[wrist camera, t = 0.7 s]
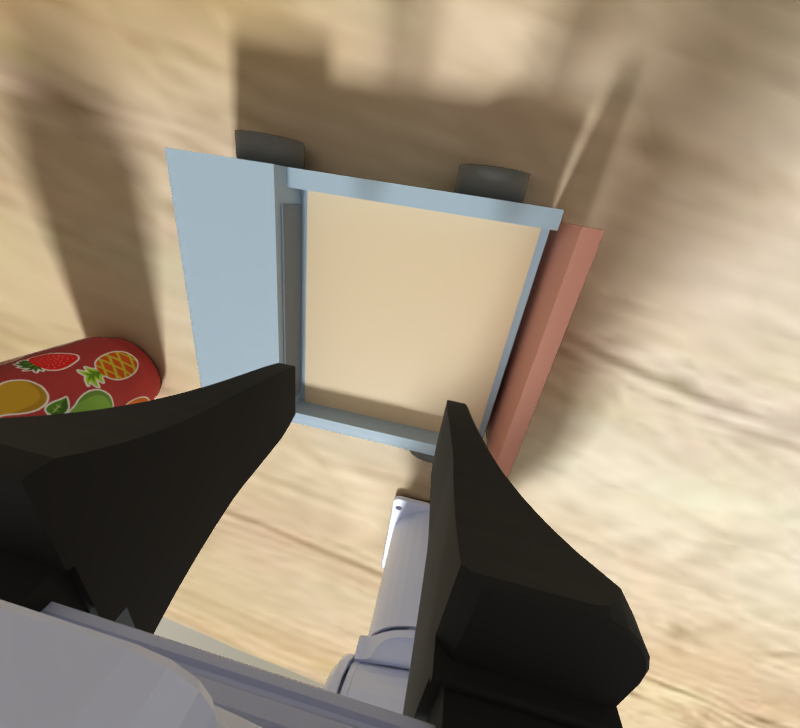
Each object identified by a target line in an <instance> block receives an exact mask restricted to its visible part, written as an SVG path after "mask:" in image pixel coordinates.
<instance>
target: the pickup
mask: <svg viewBox="0 0 800 728" xmlns="http://www.w3.org/2000/svg"><path fill="white" fill-rule="evenodd" d="M235 140H236V154H237V158H230V157H224V156H217V155H211V154H204V153H198V152H192V151H185V150H179V149H172V148H166V147H165V153H166V160H167V166H168V173H169V179H170V186H171V192H172V199H173V206H174V212H175V219H176V225H177V232H178V238H179V245H180V251H181V258H182V265H183V271H184V278H185V284H186V291H187V297H188V304H189V311H190V317H191V324H192V330H193V337H194V343H195V350H196V356H197V363H198V370H199V376H200V383H201V388H202V387H205V386H208V385H211V384H215V383H218V382H221V381H224V380H227V379H230V378H233V377H236V376H239V375H242V374H245V373H248V372H250V371H253V370H256V369H259V368H262V367H265V366H269V365H272V364H276V363H282V364H287V365H292V366H295V410H296V414H295V416H294V418H293V420H292V421H291V422H294V423H298V424H302V425H307V426H311V427H315V428H319V429H323V430H328V431H332V432H336V433H340V434H344V435H348V436H353V437H357V438H361V439H365V440H369V441H374V442H378V443H382V444H386V445H390V446H395V447H399V448H403V449H407V450H410V452H411V453H412V454H413V455H414V456H416V457H417V458H419V459H421V460H423V461H426V462H431V463H433V461H434V455H435V449H436V444H437V440H438V436H439V432H440V428H441V424H442V420H443V415H444V411H445V407H446V403H447V400H451V401H455V402H460V403H464V404H466V405H467V407H468V409H469V411H470V414H471V416H472V418H473V421H474V423H475V425H476V427H477V429H478V431H479V433H480V435H481V437H482V439H483V437H484V433H485V430H486V427H487V424H488V421H489V418H490V415H491V412H492V408H493V405H494V402H495V399H496V396H497V393H498V390H499V387H500V384H501V380H502V377H503V374H504V371H505V368H506V365H507V362H508V359H509V356H510V352H511V349H512V346H513V343H514V340H515V337H516V334H517V331H518V328H519V324H520V321H521V318H522V315H523V312H524V309H525V306H526V303H527V300H528V296H529V293H530V290H531V287H532V284H533V281H534V278H535V275H536V272H537V268H538V265H539V262H540V259H541V256H542V253H543V250H544V247H545V244H546V240H547V237H548V234H549V231H550V230H555V231H558V228H559V225H560V222H561V219H562V216H563V213H564V210H562V209H556V208H549V207H543V206H536V205H530V204H523V203H522V202H523V199H524V195H525V192H526V188H527V184H528V181H529V177H530V174H528V173H525V172H522V171H517V170H513V169H507V168H501V167H495V166H487V165H476V164H461V165H460V167H459V172H458V177H457V183H456V188H455V193H452V192H446V191H439V190H433V189H426V188H420V187H413V186H407V185H401V184H394V183H388V182H381V181H375V180H368V179H362V178H355V177H349V176H342V175H336V174H329V173H323V172H317V171H310V170H304V151H305V144H304V143H302V142H299V141H296V140H293V139H289V138H284V137H280V136H275V135H270V134H265V133H259V132H253V131H245V130H235Z"/></svg>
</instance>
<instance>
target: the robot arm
mask: <svg viewBox="0 0 800 728" xmlns="http://www.w3.org/2000/svg"><path fill="white" fill-rule="evenodd" d="M295 414H296V410H295V366H292V365H287V364H282V363H276V364H272V365H269V366H265V367H262V368H259V369H256V370H253V371H250V372H248V373H245V374H242V375H239V376H236V377H233V378H230V379H227V380H224V381H221V382H218V383H215V384H211V385H208V386H205V387H202V388H198V389H195V390H192V391H188V392H185V393H181V394H177V395H173V396H169V397H164V398H160V399H156V400H151V401H146V402H140V403H135V404H129V405H123V406H117V407H111V408H105V409H98V410H90V411H82V412H73V413H63V414H53V415H42V416H26V417H9V418H0V728H623V727H622V724H621V720H620V717H619V714H618V710H617V707H616V706H617V705H618V704H619V703H620V702H621V701H622V700H623V699H624V698H625V697H626V696H627V695H628V694H629V693H630V692H631V691H633V690H634V689H635V688H636V687H637V686H638V685H639V684H640V682H641V681H642V679H643V678H644V676H645V675H646V673H647V671H648V670H649V660H650V656H649V654H648V651H647V649H646V646H645V644H644V641H643V639H642V636H641V634H640V631H639V628H638V625H637V623H636V620H635V618H634V615H633V613H632V611H631V609H630V607H629V605H628V603H627V601H626V599H625V596H624V594H623V592H622V590H621V588H620V587H618V586H617V585H616V584H615V583H614V582H612V581H611V580H610V579H609V578H607V577H606V576H605V575H604V574H603V573H601V572H600V571H599V570H598V569H597V568H595V567H594V566H593V565H592V564H591V563H589V562H588V561H587V560H586V559H584V558H583V557H582V556H581V555H580V554H579V553H577V552H576V551H575V550H574V549H573V548H572V547H571V546H570V545H569V544H568V543H567V542H565V541H564V540H563V539H562V538H561V537H560V536H559V535H558V534H557V533H556V532H555V531H554V530H553V529H552V528H551V527H550V526H549V525H548V524H547V523H546V522H545V521H544V520H543V519H542V518H541V517H540V516H539V515H538V514H537V513H536V512H535V511H534V510H533V508H532V507H531V506H530V505H529V504H528V503H527V502H526V501H525V500H524V498H523V497H522V496H521V495H520V494H519V493H518V491H517V490H516V489H515V488H514V486H513V485H512V484H511V482H510V481H509V480H508V478H507V477H506V476H505V475H504V473H503V472H502V470H501V469H500V467H499V466H498V464H497V463H496V461H495V459H494V458H493V456H492V455H491V453H490V451H489V450H488V448H487V446H486V444H485V442H484V440H483V439H482V437H481V435H480V433H479V431H478V429H477V427H476V425H475V423H474V421H473V418H472V416H471V414H470V411H469V409H468V407H467V405H466V404H464V403H460V402H455V401H451V400H447V403H446V407H445V411H444V415H443V420H442V424H441V428H440V432H439V436H438V440H437V444H436V449H435V455H434V461H433V467H432V473H431V492H430V503H427V502H423V501H419V500H415V499H411V498H407V497H403V496H396V497H395V498H394V502H393V507H392V513H391V518H390V523H389V529H388V534H387V539H386V545H385V550H384V556H383V561H382V568H383V569H384V571H383V575H382V579H381V584H380V588H379V592H378V597H377V601H376V605H375V609H374V614H373V618H372V622H371V627H370V631H369V635H368V636H363V635H361V636H360V637H359V641H358V645H357V649H356V653H355V654H346V655H345V656H344V657H343V658H342V659H341V660H340V661H339V663H338V664H337V665H336V666H335V667H334V668H333V670H332V671H331V673H330V675H329V677H328V679H327V681H326V683H325V685H324V688H323V689H322V688H318V687H315V686H312V685H309V684H306V683H303V682H300V681H297V680H293V679H290V678H287V677H284V676H281V675H278V674H275V673H272V672H269V671H266V670H263V669H259V668H256V667H253V666H250V665H247V664H244V663H241V662H238V661H235V660H232V659H229V658H225V657H222V656H219V655H216V654H213V653H210V652H207V651H204V650H201V649H197V648H194V647H191V646H188V645H185V644H182V643H179V642H176V641H173V640H170V639H166V638H163V637H160V636H157V635H154V632H155V630H156V628H157V626H158V624H159V622H160V620H161V619H162V617H163V615H164V613H165V611H166V610H167V608H168V606H169V604H170V602H171V600H172V598H173V597H174V595H175V593H176V591H177V589H178V588H179V586H180V584H181V583H182V581H183V579H184V577H185V576H186V574H187V572H188V570H189V569H190V567H191V565H192V564H193V562H194V560H195V558H196V557H197V555H198V553H199V552H200V550H201V549H202V547H203V545H204V544H205V542H206V540H207V539H208V537H209V536H210V534H211V532H212V531H213V529H214V527H215V526H216V524H217V523H218V521H219V520H220V518H221V517H222V515H223V514H224V512H225V511H226V509H227V507H228V506H229V504H230V503H231V501H232V500H233V498H234V497H235V496H236V494H237V493H238V492H239V490H240V489H241V488H242V486H243V485H244V484H245V483H246V481H247V480H248V479H249V478H250V476H251V475H252V474H253V473H254V472H255V470H256V469H257V468H258V467H259V465H260V464H261V463H262V462H263V460H264V459H265V458H266V457H267V456H268V454H269V453H270V452H271V451H272V449H273V448H274V447H275V446H276V444H277V443H278V442H279V440H280V439H281V438H282V436H283V435H284V433H285V432H286V430H287V428H288V427H289V425H290V423H291V421H292V420H293V418H294V416H295Z"/></svg>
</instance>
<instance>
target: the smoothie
mask: <svg viewBox="0 0 800 728" xmlns="http://www.w3.org/2000/svg"><path fill="white" fill-rule="evenodd" d="M159 390H160V377H159V374H158V371H157V368H156V367H155V365H154V364H153V362H152V361H151V359H150V358H149V357H148V356H147V355H146V354H145V353H144V352H143V351H142V350H141V349H140V348H138V347H137V346H135V345H134V344H132V343H131V342H128V341H126V340H123V339H120V338H106V339H105V338H102V337H87V338H84V339H80V340H77V341H73V342H70V343H66V344H63V345H59V346H56V347H52V348H49V349H45V350H42V351H38V352H35V353H31V354H28V355H24V356H21V357H17V358H13V359H10V360H6V361H3V362H0V418H9V417H26V416H42V415H53V414H63V413H73V412H82V411H90V410H98V409H105V408H111V407H117V406H123V405H129V404H135V403H140V402H146V401H151V400H154V398H155V397H156V396H157V395H158V393H159Z"/></svg>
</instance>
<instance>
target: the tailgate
mask: <svg viewBox="0 0 800 728" xmlns="http://www.w3.org/2000/svg"><path fill="white" fill-rule="evenodd" d="M603 234H604V230H599V229H593V228H588V227H583V226H578V225H573V224H567V223H561V222H560V225H559V228H558V231H555V230H550V231H549V234H548V237H547V240H546V244H545V247H544V250H543V253H542V256H541V259H540V262H539V265H538V268H537V272H536V275H535V278H534V281H533V284H532V287H531V290H530V293H529V296H528V300H527V303H526V306H525V309H524V312H523V315H522V318H521V321H520V324H519V328H518V331H517V334H516V337H515V340H514V343H513V346H512V349H511V352H510V356H509V359H508V362H507V365H506V368H505V371H504V374H503V377H502V380H501V384H500V387H499V390H498V393H497V396H496V399H495V402H494V405H493V408H492V412H491V415H490V418H489V421H488V424H487V427H486V438H487V448H488V450H489V451H490V453H491V455H492V456H493V458H494V459H495V461H496V463H497V464H498V466H499V467H500V469H501V470H502V472H503V473H504V475H505V476H506V477H507V478H508V477H509V474H510V472H511V469H512V466H513V464H514V461H515V459H516V456H517V454H518V451H519V449H520V446H521V443H522V441H523V438H524V436H525V433H526V431H527V428H528V426H529V423H530V420H531V418H532V415H533V413H534V410H535V408H536V405H537V403H538V400H539V397H540V395H541V392H542V390H543V387H544V385H545V382H546V380H547V377H548V374H549V372H550V369H551V367H552V364H553V362H554V359H555V357H556V354H557V351H558V349H559V346H560V344H561V341H562V339H563V336H564V334H565V331H566V328H567V326H568V323H569V321H570V318H571V316H572V313H573V311H574V308H575V305H576V303H577V300H578V298H579V295H580V293H581V290H582V288H583V285H584V282H585V280H586V277H587V275H588V272H589V270H590V267H591V265H592V262H593V259H594V257H595V254H596V252H597V249H598V247H599V244H600V242H601V239H602V236H603Z"/></svg>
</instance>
